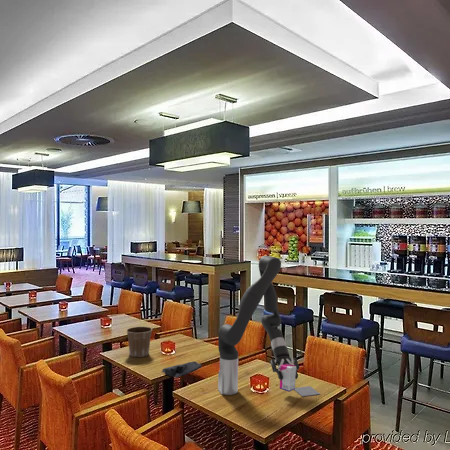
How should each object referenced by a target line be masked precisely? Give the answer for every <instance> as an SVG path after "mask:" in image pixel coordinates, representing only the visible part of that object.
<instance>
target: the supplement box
mask: <svg viewBox="0 0 450 450" xmlns="http://www.w3.org/2000/svg"><path fill="white" fill-rule="evenodd" d="M280 371H281V373H282V376H283V379H282V380H280V379H279V389H280V390H283V391H285V392H289V393H290V392H292V391H295V390H294V389H295V388H296V380H297V379H296V366H294V364H293V365H291V364H284V365H281V370H280Z"/></svg>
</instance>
